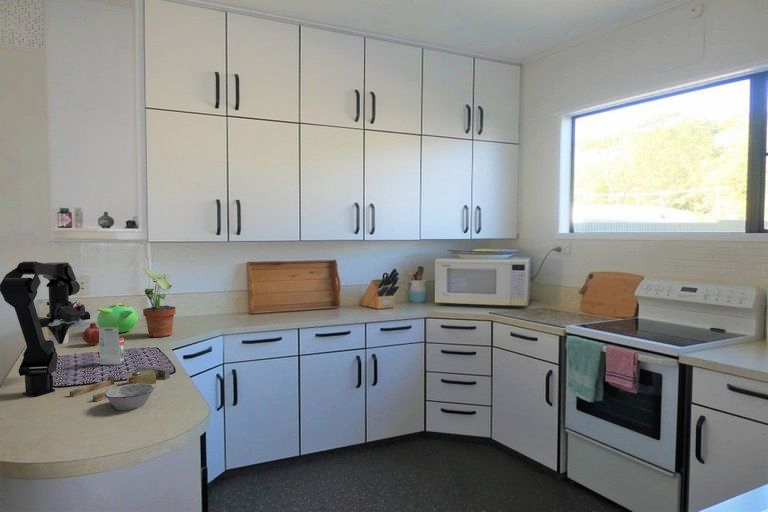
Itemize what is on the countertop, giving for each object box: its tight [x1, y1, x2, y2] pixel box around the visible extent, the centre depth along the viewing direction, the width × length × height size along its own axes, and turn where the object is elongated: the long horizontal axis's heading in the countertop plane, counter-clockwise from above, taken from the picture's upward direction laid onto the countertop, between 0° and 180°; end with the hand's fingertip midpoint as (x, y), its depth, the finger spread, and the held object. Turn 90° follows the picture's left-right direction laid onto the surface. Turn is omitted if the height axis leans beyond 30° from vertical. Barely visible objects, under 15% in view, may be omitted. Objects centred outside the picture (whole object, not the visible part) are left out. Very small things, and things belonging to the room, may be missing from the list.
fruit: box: [81, 322, 99, 346], centre depth 223 cm, size 8×8×10 cm
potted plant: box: [142, 268, 177, 338], centre depth 241 cm, size 16×15×35 cm
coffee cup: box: [45, 312, 70, 346], centre depth 228 cm, size 9×9×15 cm
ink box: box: [98, 326, 125, 366], centre depth 192 cm, size 4×8×15 cm, turn 90°
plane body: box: [69, 375, 137, 402], centre depth 159 cm, size 14×12×2 cm
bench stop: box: [135, 364, 171, 380], centre depth 176 cm, size 2×14×3 cm, turn 65°
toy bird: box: [96, 302, 139, 334], centre depth 250 cm, size 18×17×15 cm
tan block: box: [126, 370, 157, 385], centre depth 168 cm, size 8×6×4 cm
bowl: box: [104, 383, 155, 411], centre depth 147 cm, size 13×13×5 cm
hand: (60, 343), depth 173 cm, fingers closed
